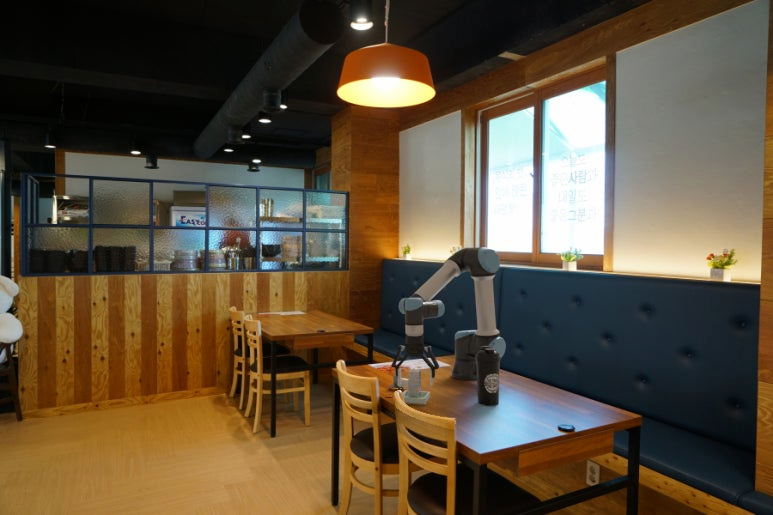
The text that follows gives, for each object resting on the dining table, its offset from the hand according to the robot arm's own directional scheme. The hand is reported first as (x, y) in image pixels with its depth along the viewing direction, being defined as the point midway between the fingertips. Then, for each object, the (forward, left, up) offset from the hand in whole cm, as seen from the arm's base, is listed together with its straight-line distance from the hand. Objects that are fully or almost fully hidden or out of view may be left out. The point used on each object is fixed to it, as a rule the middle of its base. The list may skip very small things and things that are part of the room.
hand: (415, 384), depth 218 cm
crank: (-15, -8, -5) cm, 18 cm away
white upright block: (0, 0, -6) cm, 6 cm away
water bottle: (-3, +30, -7) cm, 31 cm away
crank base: (-17, -12, -7) cm, 22 cm away
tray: (0, 0, -7) cm, 7 cm away
